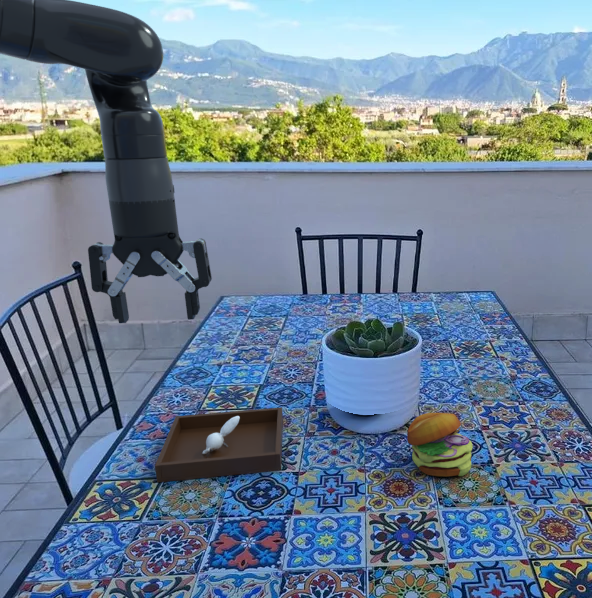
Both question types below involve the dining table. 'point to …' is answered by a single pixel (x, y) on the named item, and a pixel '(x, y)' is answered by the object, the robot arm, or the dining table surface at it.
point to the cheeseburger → (439, 445)
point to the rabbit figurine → (220, 435)
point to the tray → (226, 460)
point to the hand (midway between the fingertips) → (158, 319)
